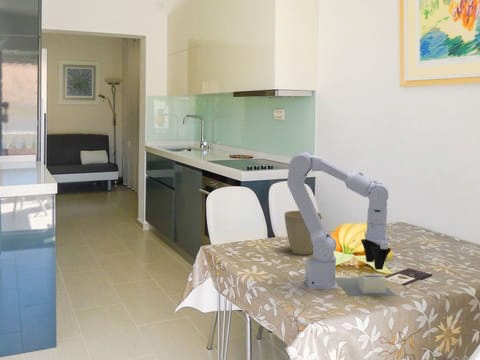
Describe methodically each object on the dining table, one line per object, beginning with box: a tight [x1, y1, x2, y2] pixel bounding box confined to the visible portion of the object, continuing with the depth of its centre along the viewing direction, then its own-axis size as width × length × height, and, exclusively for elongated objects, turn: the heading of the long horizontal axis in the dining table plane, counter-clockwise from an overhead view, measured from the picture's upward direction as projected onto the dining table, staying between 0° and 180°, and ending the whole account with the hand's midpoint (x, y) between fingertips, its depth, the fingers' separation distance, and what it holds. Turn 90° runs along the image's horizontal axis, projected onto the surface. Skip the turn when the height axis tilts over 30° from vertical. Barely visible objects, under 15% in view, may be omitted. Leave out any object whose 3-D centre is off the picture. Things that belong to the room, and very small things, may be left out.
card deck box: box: [358, 273, 388, 293], centre depth 154 cm, size 7×5×5 cm
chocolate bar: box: [384, 267, 433, 286], centre depth 169 cm, size 9×1×18 cm
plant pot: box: [283, 210, 323, 256], centre depth 197 cm, size 15×15×16 cm
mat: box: [335, 277, 397, 298], centre depth 158 cm, size 15×17×1 cm
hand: (374, 265), depth 153 cm, fingers open, 7 cm apart
